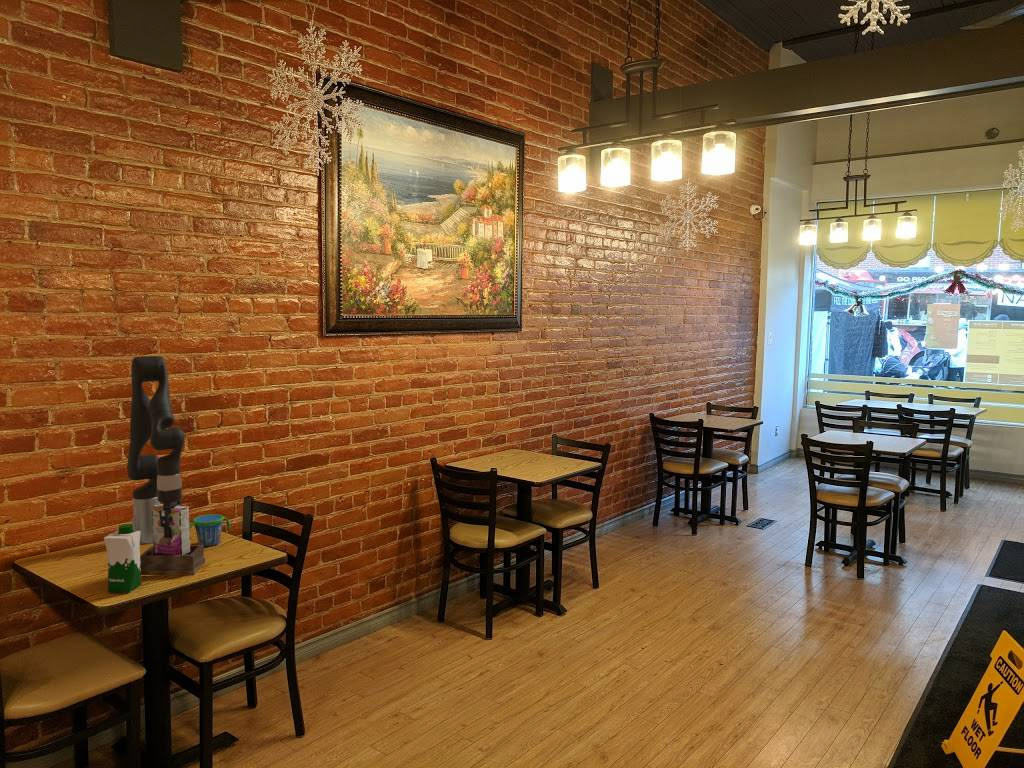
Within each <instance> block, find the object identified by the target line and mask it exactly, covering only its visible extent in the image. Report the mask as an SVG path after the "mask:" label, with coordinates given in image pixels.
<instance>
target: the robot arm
mask: <svg viewBox="0 0 1024 768" xmlns="http://www.w3.org/2000/svg"><path fill="white" fill-rule="evenodd" d="M130 368H131V369H130V371H131V372H130V377H131V405H130V417H129V418H130V419H129V446H128V455H127V465H126V473H127V477H128V479H129V480H131V481H143V480H147V482H146V483H144V484H143V485H141V486H139V487H136V488H135V489H133V491H132V502H133V517H132V518H131V524H132V525H133V530H134V531H141V532H140V544H142V545H143V544H144V543H145V544H153V518H152V508H153V507H156V506H158V505H160V504H163V508H162V510H160V511H159V515H160V525H161V527H164V538H171V537H172V531H171V521H172V519H173V517H172V516H171V517H170V518H169V515H170V513H171V509H172V508H175V507H174V506H182V505H181V504H182V501H181V500H182V499H183V492H182V491H183V489H182V488H183V487H182V477H181V476H182V475H181V456H182V451H183V449H184V448H183V447H184V445H185V440H186V439H185V438H186V435H185V433H184V432H185V431H183V429H181V428H180V427H172V426H173V425H174V423H175V416H174V412H173V408H172V404H171V398H170V385H169V376H168V375H169V374H168V367H167V363H166V360H165V358H164V357H163V356H161V355H146V356H145V355H144V356H141V355H139V356H134V357H133V358H132V361H131V365H130ZM151 382H152V383H153V382H158V387H157V388H156V390H155V392H154V393H153V395H152V397H151V398H150V397H149V396H148V395H147V393H146V392H145V389H144V387H143V383H151ZM170 427H171V428H170ZM149 442H150V446H151V447H152V448H153V449H154V450H155V451H165V450H166V451H167V450H171V452H170V453H169V454H165V455H163V456H160V457H158V455H157V454H155V453H154V454H143V455H141V453H142V450H143V449H144V447H145V446H146V445H147V443H149Z"/></svg>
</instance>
